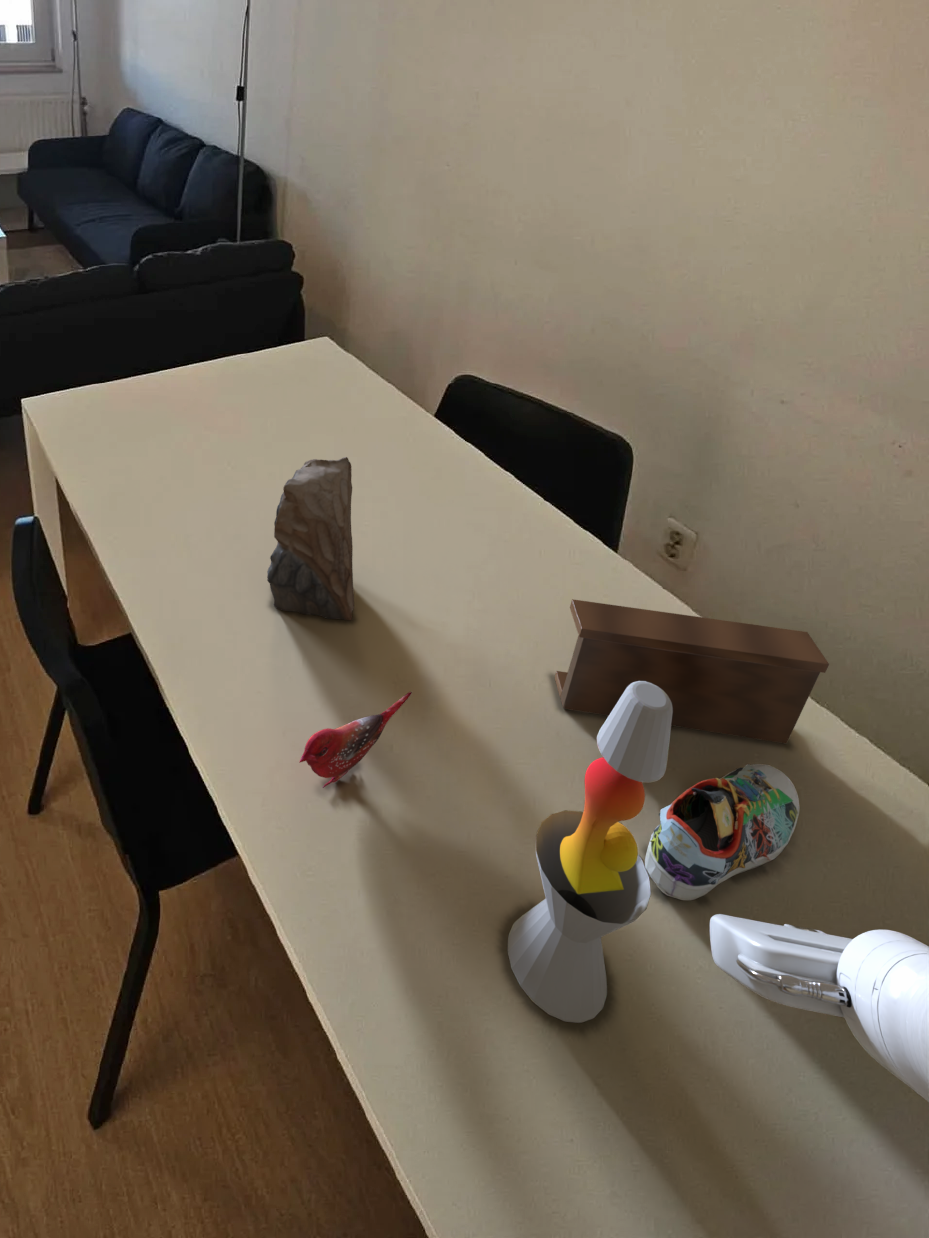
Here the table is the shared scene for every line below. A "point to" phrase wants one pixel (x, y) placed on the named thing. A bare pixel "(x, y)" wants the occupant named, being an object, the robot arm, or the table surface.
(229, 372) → the table surface
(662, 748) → the lava lamp
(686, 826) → the sneaker
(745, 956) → the robot arm
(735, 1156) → the table surface
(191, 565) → the table surface
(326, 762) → the decorative bird figurine
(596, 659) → the wooden wall shelf
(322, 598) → the brown rock
